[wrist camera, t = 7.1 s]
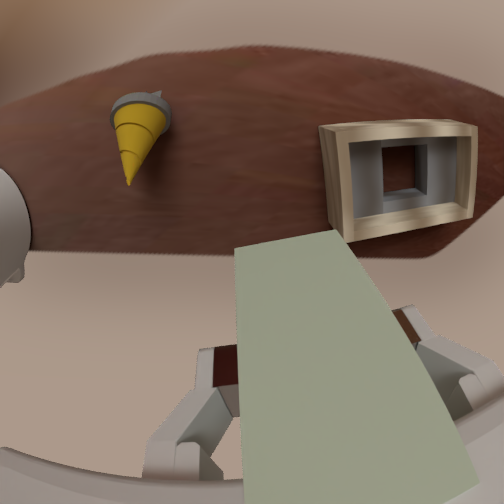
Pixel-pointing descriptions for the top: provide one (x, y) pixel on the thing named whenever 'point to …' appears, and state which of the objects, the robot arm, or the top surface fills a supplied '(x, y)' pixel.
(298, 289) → the peg
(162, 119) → the drill bit
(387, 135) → the box
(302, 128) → the top surface
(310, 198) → the top surface
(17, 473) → the robot arm
